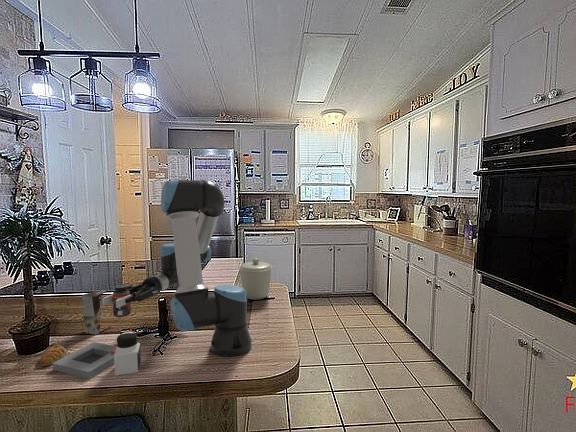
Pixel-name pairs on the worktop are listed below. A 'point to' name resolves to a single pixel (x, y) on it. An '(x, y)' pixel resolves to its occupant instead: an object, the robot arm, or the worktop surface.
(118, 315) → the supplement bottle
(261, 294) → the canister
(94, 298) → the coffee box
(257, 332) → the worktop surface
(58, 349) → the pastry
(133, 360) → the medicine bottle
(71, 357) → the socket plate
